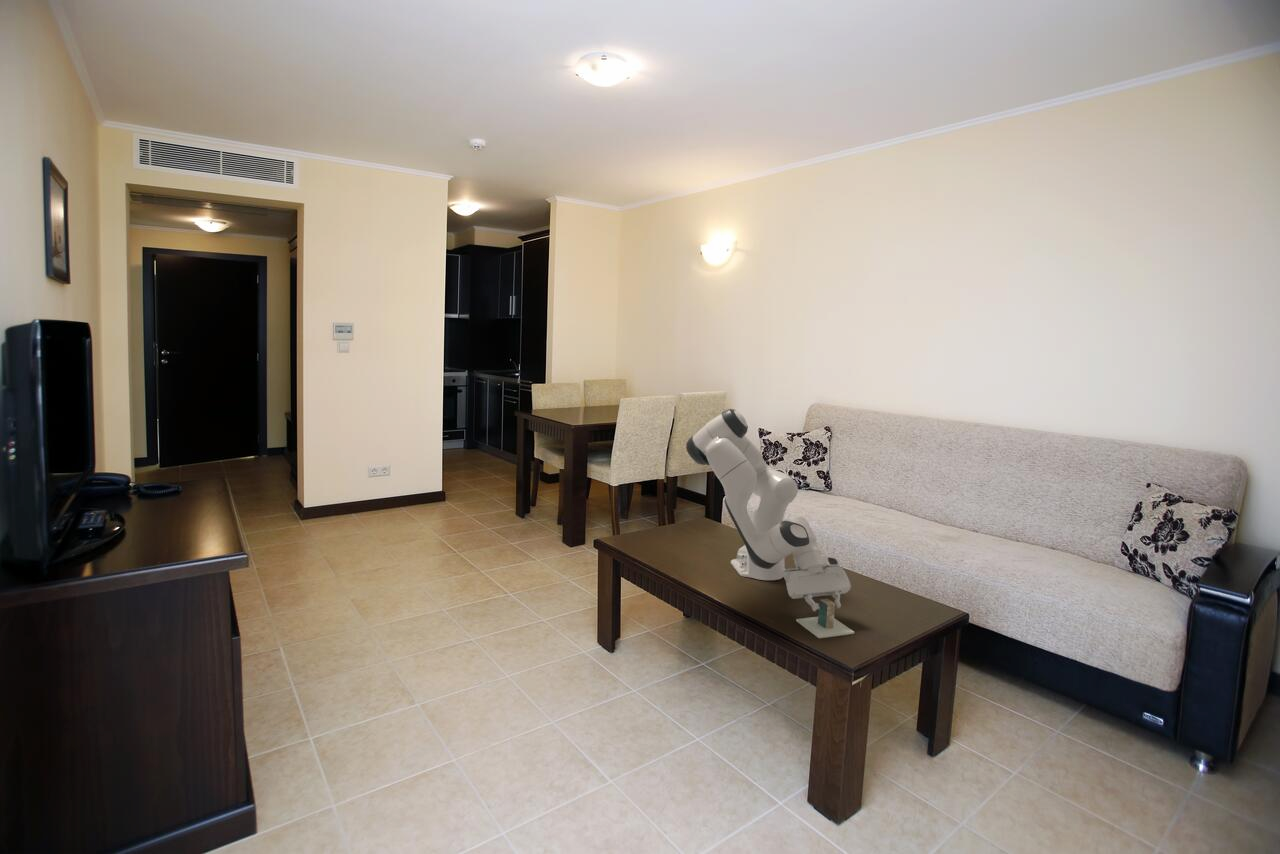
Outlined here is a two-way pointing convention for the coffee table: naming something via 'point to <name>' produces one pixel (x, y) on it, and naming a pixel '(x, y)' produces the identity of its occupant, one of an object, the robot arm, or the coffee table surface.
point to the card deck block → (826, 613)
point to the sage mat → (820, 631)
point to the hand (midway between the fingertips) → (827, 609)
